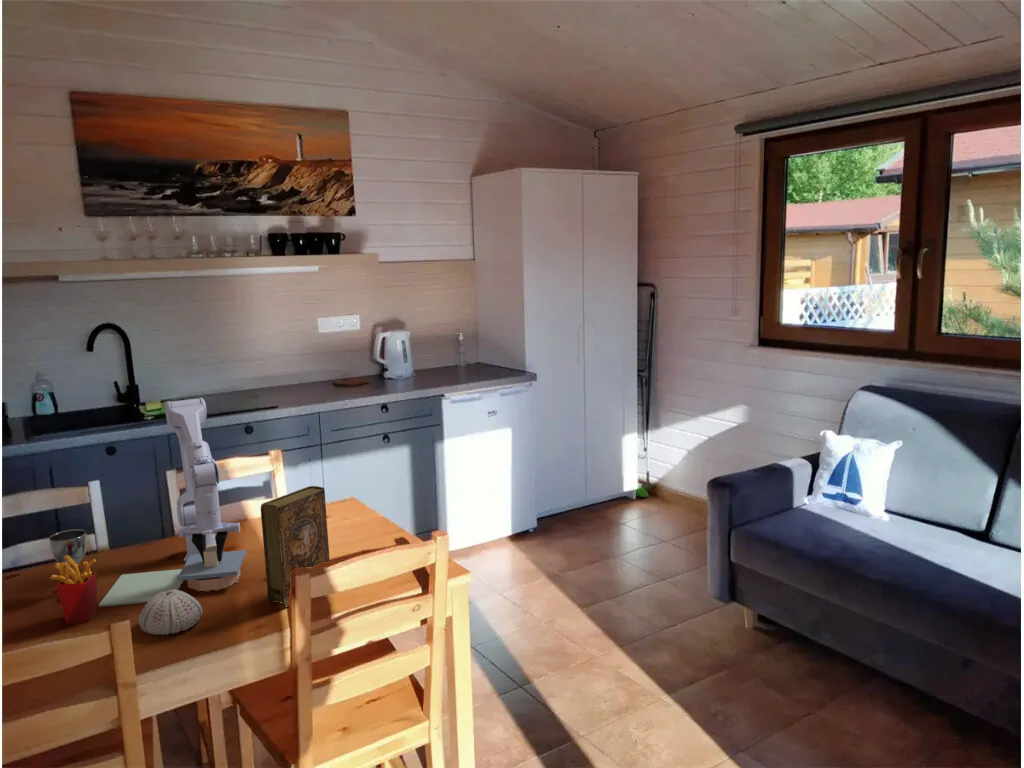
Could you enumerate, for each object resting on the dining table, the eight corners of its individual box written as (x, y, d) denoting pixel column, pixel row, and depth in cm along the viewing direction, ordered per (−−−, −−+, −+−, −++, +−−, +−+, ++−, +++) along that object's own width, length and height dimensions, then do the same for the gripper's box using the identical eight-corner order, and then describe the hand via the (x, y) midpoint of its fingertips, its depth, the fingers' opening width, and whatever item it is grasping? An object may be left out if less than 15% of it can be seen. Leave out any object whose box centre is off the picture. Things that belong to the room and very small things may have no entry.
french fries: (103, 610, 185) (95, 550, 182) (88, 626, 177) (80, 564, 174) (63, 613, 184) (55, 553, 181) (47, 630, 176) (38, 567, 173)
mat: (121, 576, 204) (121, 574, 204) (190, 570, 207) (189, 568, 207) (98, 607, 187) (98, 605, 187) (173, 599, 190) (173, 597, 190)
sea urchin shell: (146, 616, 182) (143, 584, 180) (208, 609, 184) (204, 577, 183) (133, 644, 169) (128, 609, 167) (199, 635, 172) (195, 601, 170)
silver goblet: (56, 601, 191) (48, 543, 188) (57, 589, 198) (49, 533, 195) (92, 593, 194) (85, 536, 192) (93, 582, 201) (85, 527, 199)
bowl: (195, 573, 205) (194, 563, 204) (242, 569, 207) (241, 558, 206) (184, 593, 193) (183, 582, 192) (235, 588, 195) (234, 577, 194)
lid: (190, 558, 205) (188, 540, 204) (246, 553, 207) (244, 535, 206) (178, 580, 191) (175, 561, 190) (237, 575, 194) (235, 556, 193)
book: (319, 578, 199) (312, 485, 195) (334, 583, 196) (327, 488, 192) (268, 604, 186) (259, 504, 181) (284, 609, 183) (275, 508, 178)
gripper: (173, 517, 191) (179, 569, 194) (234, 512, 194) (239, 563, 196) (180, 508, 198) (185, 558, 201) (239, 503, 201) (244, 553, 203)
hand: (212, 560), depth 199 cm, fingers closed on lid, 3 cm apart
